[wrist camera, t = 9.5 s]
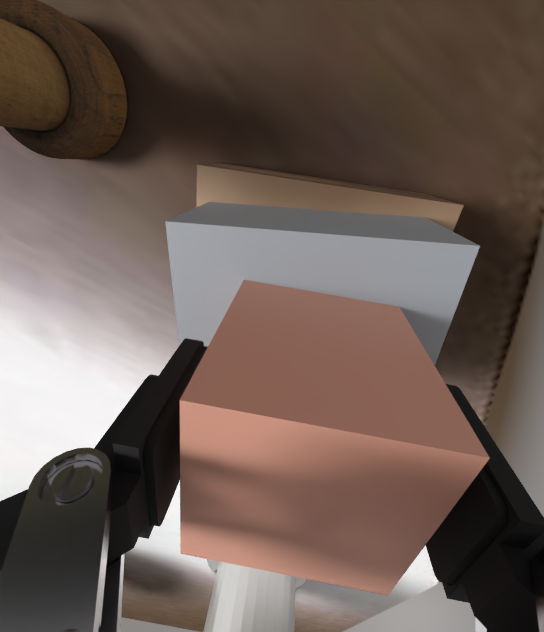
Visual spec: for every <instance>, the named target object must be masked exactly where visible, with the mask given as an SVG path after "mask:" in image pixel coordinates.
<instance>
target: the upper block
mask: <svg viewBox="0 0 544 632" xmlns="http://www.w3.org/2000/svg"><path fill="white" fill-rule="evenodd" d="M165 222H166V231H167V240H168V249H169V258H170V268H171V277H172V286H173V295H174V304H175V313H176V322H177V332H178V341H179V346H180V344H181V343H182V341H183V340H184V339H185V338H188V339H193V340H199V341H203V342H204V346H207V347H208V346H209V344H210V342H211V340H212V338H213V337H214V335H215V333H216V331H217V329H218V327H219V325H220V323H221V322H222V320H223V318H224V316H225V314H226V312H227V310H228V308H229V307H230V305H231V303H232V301H233V299H234V297H235V295H236V293H237V292H238V290H239V288H240V286H241V284H242V282H243V280H248V281H254V282H259V283H265V284H271V285H277V286H283V287H288V288H294V289H300V290H306V291H311V292H317V293H323V294H329V295H334V296H340V297H346V298H352V299H357V300H363V301H369V302H375V303H380V304H386V305H392V306H398V307H400V309H401V310H402V312H403V314H404V315H405V317H406V319H407V320H408V322H409V324H410V325H411V327H412V329H413V331H414V332H415V334H416V336H417V337H418V339H419V341H420V342H421V344H422V346H423V347H424V349H425V351H426V352H427V354H428V356H429V357H430V359H431V361H432V362H433V364H434V366H435V364H436V361H437V358H438V356H439V353H440V350H441V348H442V345H443V342H444V340H445V337H446V335H447V332H448V329H449V327H450V324H451V321H452V319H453V316H454V314H455V311H456V308H457V306H458V303H459V300H460V298H461V295H462V292H463V290H464V287H465V285H466V282H467V279H468V277H469V274H470V271H471V269H472V266H473V264H474V261H475V258H476V256H477V253H478V250H479V248H480V246H479V245H477V244H475V243H474V242H472V241H470V240H468V239H466V238H464V237H462V236H460V235H458V234H456V233H454V232H453V231H451V230H449V229H447V228H445V227H443V226H441V225H439V224H437V223H435V222H433V221H432V220H430V219H428V218H426V217H414V216H400V215H387V214H373V213H359V212H345V211H332V210H318V209H304V208H290V207H276V206H263V205H249V204H235V203H221V202H208V203H205V204H203V205H201V206H199V207H196V208H194V209H192V210H190V211H187V212H185V213H183V214H181V215H179V216H176V217H174V218H172V219H170V220H167V221H165Z"/></svg>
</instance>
